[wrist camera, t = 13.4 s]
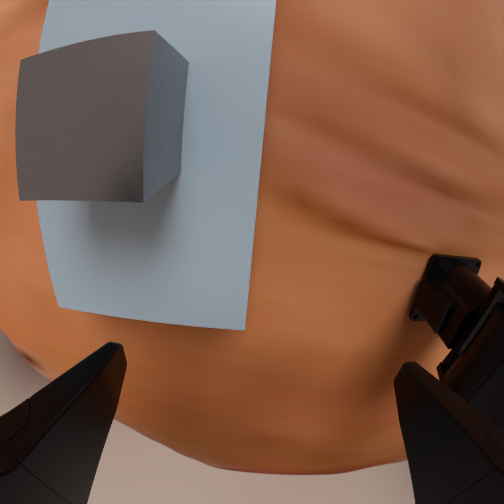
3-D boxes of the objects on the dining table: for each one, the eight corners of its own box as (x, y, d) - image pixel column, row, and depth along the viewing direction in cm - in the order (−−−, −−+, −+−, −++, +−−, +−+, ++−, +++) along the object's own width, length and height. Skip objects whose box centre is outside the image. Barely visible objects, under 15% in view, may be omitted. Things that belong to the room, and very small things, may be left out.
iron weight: (189, 61, 10) (154, 30, 6) (180, 171, 12) (143, 202, 8) (87, 71, 10) (20, 60, 6) (84, 171, 12) (19, 200, 8)
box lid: (281, -64, 8) (282, -71, 7) (244, 321, 17) (244, 330, 16) (69, -38, 7) (63, -43, 6) (64, 300, 16) (58, 306, 16)
